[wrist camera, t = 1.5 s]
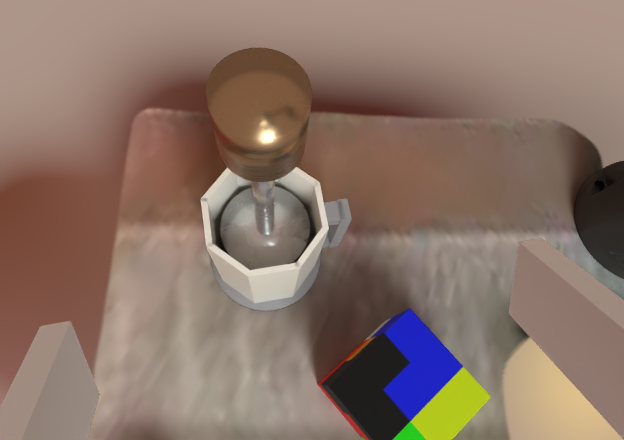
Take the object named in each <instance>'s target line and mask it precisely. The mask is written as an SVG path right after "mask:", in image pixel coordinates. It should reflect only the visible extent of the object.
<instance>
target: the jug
mask: <svg viewBox="0 0 624 440" xmlns="http://www.w3.org/2000/svg"><path fill="white" fill-rule="evenodd" d="M275 187H279V188H282V189H284V190H286V191H288V192H290V193H291V194H293V195H294V196H295V197H296V198H297V199H298V200H299V201H300V202H301V203H302V204H303V206H304V208H305V209H306V212H307V214H308V218H309V223H310V233H309V238H308V242H307V245H306V247H305V249H304V251H303V253H302V254H301V255H300V257H299V258H298V259H297V260H296V261H295V262H294V263H291V264H285V265H279V266H273V267H266V268H260V269H254V270H249V269H248V268H246V267H245V266H243V265H242V264H241V263H239V262H238V261H236V260H235V259H234V258H232V257H231V256H230V255H229V254H228V253H227V251H226V249H225V247H224V244H223V242H222V238H221V233H220V224H221V218H222V215H223V212H224V210H225V208H226V207H227V205H228V204H229V202H230V201H231V200H232V199H233V198H234V197H235V196H237V195H238V194H239V193H241V192H242V191H244V190H246V189H249V188H252V181H249V180H246V179H243V178H241V177H239V176H237V175H236V174H234V173H233V172H232V171H230V170H229V169H228V168H226V170H225V171H224V172H223V173H222V174H221V176H220V177H219V178H218V179H217V180H216V181H215V183H214V184H213V185H212V186H211V187H210V188H209V190H208V191H207V192H206V193H205V194H204V196H203V197H202V198H201V206H202V214H203V223H204V231H205V240H206V248H207V249H208V251H209V253H210V255H211V257H212V267H213V272H214V274H215V277H216V279H217V281H218V283H219V285H220V287H221V288H222V290H223V291H224V292H225V293H226V294H227V296H228V297H230V298H231V299H232V300H233V301H235V302H236V303H238V304H239V305H241V306H243V307H246V308H249V309H252V310H257V311H275V310H279V309H283V308H286V307H288V306H290V305H292V304H294V303H296V302H297V301H298V300H300V299H301V298H302V297H303V296H304V295H305V294H306V293H307V292H308V291H309V290H310V288H311V287H312V285H313V283H314V281H315V279H316V277H317V275H318V271H319V268H320V261H321V252H320V251H321V248H325V247H329V248H331V247H337V246H339V244H340V242H341V240H342V238H343V236H344V234H345V232H346V230H347V228H348V226H349V224H350V222H351V220H352V219H351V214H350V209H349V205H348V200H347V198H346V199H339V200H336V201H333V202H326V203H324V202H323V197H322V192H321V187H320V182H318V181H317V180H315V179H314V178H312V177H311V176H309V175H308V174H306V173H305V172H303V171H302V170H300V169H299V168H297V167H296V168H295V169H294V170H293V171H291V172H290V173H289V174H287V175H286V176H284V177H282V178H280V179H277V180H275Z"/></svg>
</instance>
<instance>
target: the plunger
mask: <svg viewBox="0 0 624 440" xmlns="http://www.w3.org/2000/svg"><path fill="white" fill-rule="evenodd" d="M206 100H207V105H208V109H209V113H210V117H211V122H212V126H213V130H214V134H215V139H216V143H217V147H218V151H219V154H220V157H221V159H222V161H223V163H224V164H225V165H226V167H227V168H228V169H229V170H230V171H232V172H233V173H234V174H236V175H237V176H239V177H241V178H243V179H246V180H249V181H252V188H249V189H246V190H244V191H242V192H241V193H239V194H238V195H237V196H235V197H234V198H233V199H232V200H231V201H230V202H229V204H228V205H227V207H226V208H225V210H224V212H223V215H222V218H221V224H220V233H221V238H222V242H223V244H224V247H225V249H226V251H227V253H228V254H229V255H230V256H231V257H232V258H234V259H235V260H236V261H238V262H239V263H241V264H242V265H243V266H245V267H246V268H248V269H249V270H254V269H260V268H266V267H273V266H279V265H285V264H291V263H294V262H295V261H296V260H297V259H298V258H299V257H300V255H301V254H302V253H303V251H304V249H305V247H306V245H307V242H308V238H309V233H310V223H309V218H308V214H307V212H306V209H305V208H304V206H303V204H302V203H301V202H300V201H299V200H298V199H297V198H296V197H295V196H294V195H293V194H291V193H290V192H288V191H286V190H284V189H282V188H279V187H275V180H277V179H280V178H282V177H284V176H286V175H287V174H289V173H290V172H291V171H293V170H294V169H295V168H296V166H297V165H298V164H299V162H300V161H301V159H302V157H303V154H304V149H305V143H306V136H307V129H308V122H309V115H310V108H311V101H312V88H311V84H310V80H309V78H308V76H307V74H306V72H305V71H304V70H303V68H302V67H301V66H300V65H299V64H298V63H297V62H296V61H295V60H294V59H292V58H291V57H289V56H288V55H286V54H284V53H282V52H279V51H276V50H273V49H267V48H249V49H244V50H240V51H237V52H235V53H232V54H230V55H229V56H227V57H225V58H224V59H223V60H221V61H220V62H219V63H218V64H217V65H216V67H215V68H214V69H213V71H212V72H211V74H210V76H209V78H208V81H207V85H206Z"/></svg>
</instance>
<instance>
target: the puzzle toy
mask: <svg viewBox="0 0 624 440" xmlns="http://www.w3.org/2000/svg"><path fill="white" fill-rule="evenodd" d="M318 386H319V387H320V388H321V389H322V391H323V392H324V393H325V394H326V395H327V397H328V398H329V399H330V400H331V401H332V403H333V404H334V405H335V406H336V407H337V409H338V410H339V411H340V412H341V413H342V415H343V416H344V417H345V418H346V420H347V421H348V422H349V423H350V424H351V426H352V427H353V428H354V429H355V430H356V432H357V433H358V434H359V435H360V436H361V438H362V439H363V440H452V439H453V438H454V437H455V436H456V434H457V433H458V432H459V431H460V430H461V429H462V428H463V427H464V426H465V425H466V424H467V423H468V421H469V420H470V419H471V418H472V417H473V416H474V415H475V414H476V413H477V412H478V411H479V409H480V408H481V407H482V406H483V405H484V404H485V403H486V402H487V401H488V400H489V399H490V398H491V397H490V395H489V394H488V393H487V392H486V391H485V390H484V389H483V388H482V387H481V386H480V384H479V383H478V382H477V381H476V380H475V379H474V378H473V377H472V376H471V375H470V373H469V372H468V371H467V370H466V369H465V368H464V367H463V366H462V365H461V364H460V362H459V361H458V360H457V359H456V358H455V357H454V356H453V355H452V354H451V353H450V351H449V350H448V349H447V348H446V347H445V346H444V345H443V344H442V343H441V342H440V340H439V339H438V338H437V337H436V336H435V335H434V334H433V333H432V332H431V331H430V329H429V328H428V327H427V326H426V325H425V324H424V323H423V322H422V321H421V320H420V318H419V317H418V316H417V315H416V314H415V313H414V312H413V311H412V310H411V309H408V310H406V311H404V312H402V313H400V314H398V315H396V316H394V317H392V318H390V319H388V320H386V321H384V322H383V323H382V324H381V325H380V326H379V327H378V328H377V329H376V330H375V331H374V332H373V333H372V334H370V335H369V336H368V337H367V338H366V339H365V340H364V341H363V342H362V343H361V344H360V345H359V346H358V347H357V348H356V349H354V350H353V351H352V352H351V353H350V354H349V355H348V356H347V357H346V358H345V359H344V360H343V361H342V362H341V363H339V364H338V365H337V366H336V367H335V368H334V369H333V370H332V371H331V372H330V373H329V374H328V375H327V376H326V377H324V378H323V379H322V380H321V381H320V382H319V383H318Z"/></svg>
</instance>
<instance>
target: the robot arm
mask: <svg viewBox="0 0 624 440" xmlns="http://www.w3.org/2000/svg"><path fill="white" fill-rule="evenodd" d="M575 220H576V225H577V229H578V232H579V234H580V237H581V239H582V241H583V243H584V244H585V246H586V248H587V249H588V251H589V252H590V253H591V255H592V256H593V257H594V258H595V259H596V260H597V261H598V262H599V263H600V264H601V265H602V266H603V267H605V268H606V269H607V270H609V271H610V272H612V273H613V274H615V275H617V276H619V277H621V278H623V279H624V161H620V162H616V163H614V164H611V165H609V166H607V167H605V168H603V169H601V170H600V171H598V172H597V173H595V174H594V175H592V176H591V177H590V178H588V179H587V180H586V181H585V183H584V184H583V185H582V187H581V188H580V190H579V193H578V195H577V198H576V203H575ZM509 314H510V315H511V317H512V318H513V319H514V320H515V321H516V322H517V323H518V324H519V325H520V326H521V327H522V329H523V330H524V331H525V332H526V333H527V334H528V335H529V336H530V337H531V338H532V340H533V341H534V342H535V343H536V344H537V345H538V346H539V347H540V348H541V349H542V351H543V352H544V353H545V354H546V355H547V356H548V357H549V358H550V359H551V360H552V361H553V362H554V364H555V365H556V366H557V367H558V368H559V369H560V370H561V371H562V372H563V374H564V375H565V376H566V377H567V378H568V379H569V380H570V381H571V382H572V383H573V384H574V386H575V387H576V388H577V389H578V390H579V391H580V392H581V393H582V394H583V396H584V397H585V398H586V399H587V400H588V401H589V402H590V403H591V404H592V405H593V406H594V408H595V409H596V410H598V412H599V413H600V414H601V415H602V416H603V417H604V419H605V420H606V421H607V422H608V423H609V424H610V425H611V426H612V427H613V428H614V429H615V431H616V432H617V433H618V434H619V435H620V436H621V437H622V438H623V439H624V300H623V299H621V298H620V297H619V296H617V295H616V294H615V293H613V292H612V291H611V290H609V289H608V288H607V287H605V286H604V285H603V284H602V283H600V282H599V281H598V280H596V279H595V278H594V277H592V276H591V275H590V274H588V273H587V272H586V271H584V270H583V269H582V268H580V267H579V266H578V265H577V264H575V263H574V262H573V261H571V260H570V259H569V258H567V257H566V256H565V255H563V254H562V253H561V252H559V251H558V250H557V249H556V248H554V247H553V246H552V245H550V244H549V243H548V242H546V241H545V240H544V239H542V238H539V239H533V240H528V241H522V242H519V245H518V252H517V259H516V266H515V273H514V280H513V287H512V294H511V301H510V308H509ZM99 395H100V394H99V391H98V389H97V386H96V384H95V381H94V379H93V376H92V374H91V371H90V369H89V366H88V364H87V361H86V359H85V356H84V354H83V351H82V349H81V346H80V343H79V341H78V339H77V336H76V333H75V331H74V328H73V326H72V323H71V321H68V322H62V323H57V324H51V325H45V326H40V329H39V331H38V333H37V335H36V336H35V338H34V340H33V343H32V345H31V346H30V349H29V351H28V353H27V355H26V357H25V359H24V361H23V363H22V365H21V367H20V369H19V371H18V373H17V375H16V377H15V379H14V381H13V383H12V385H11V387H10V389H9V391H8V393H7V395H6V397H5V399H4V401H3V403H2V405H1V407H0V440H88V436H89V432H90V429H91V425H92V421H93V417H94V414H95V410H96V406H97V402H98V399H99Z"/></svg>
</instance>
